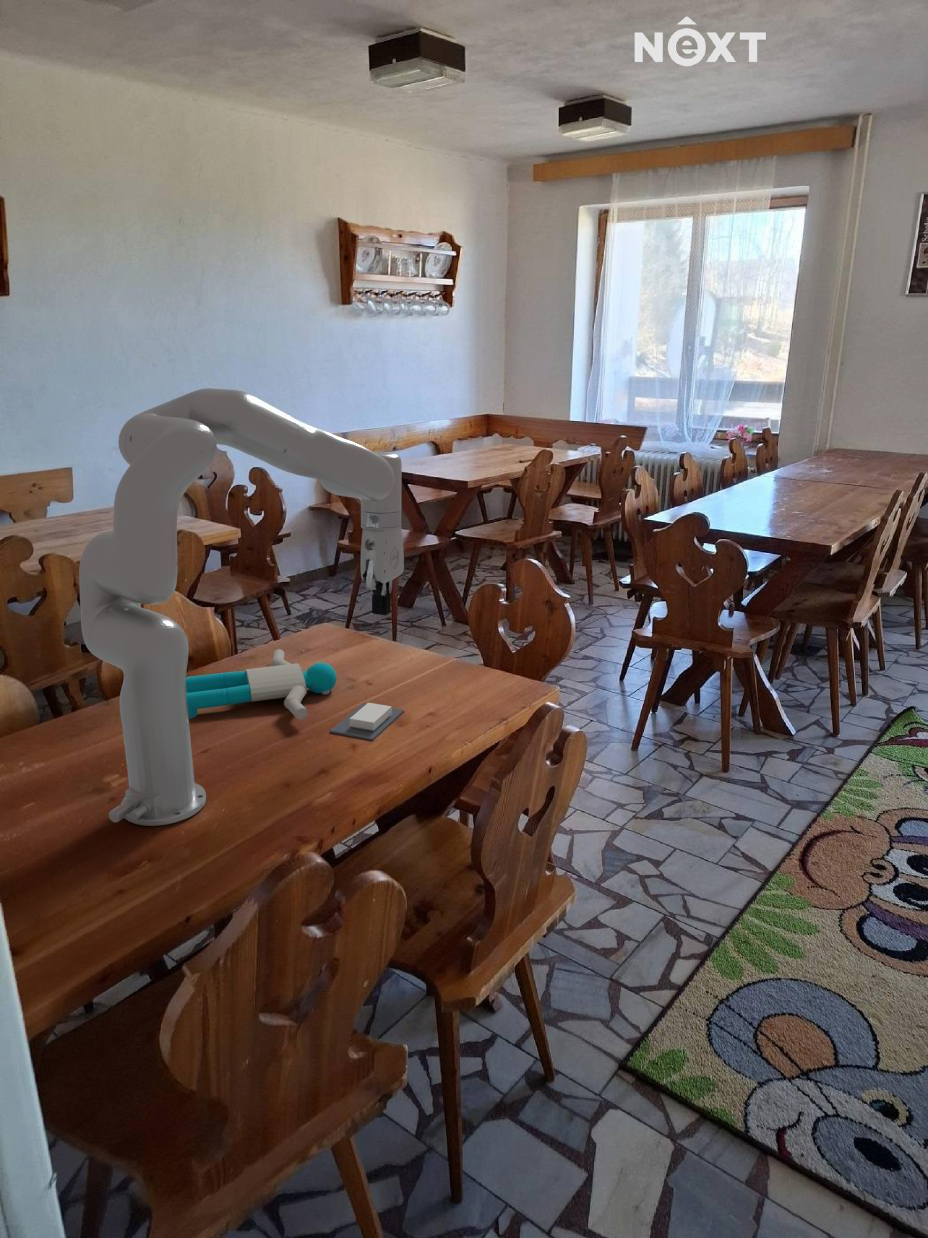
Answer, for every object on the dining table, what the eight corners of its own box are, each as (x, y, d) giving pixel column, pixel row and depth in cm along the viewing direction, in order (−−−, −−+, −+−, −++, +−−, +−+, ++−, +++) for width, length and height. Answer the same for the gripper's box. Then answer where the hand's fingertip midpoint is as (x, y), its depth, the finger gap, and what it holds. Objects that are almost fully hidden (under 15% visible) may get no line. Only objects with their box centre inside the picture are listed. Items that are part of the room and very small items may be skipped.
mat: (372, 740, 156) (372, 738, 156) (329, 732, 159) (329, 730, 159) (404, 711, 168) (404, 709, 168) (363, 704, 171) (363, 702, 171)
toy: (191, 747, 154) (353, 724, 163) (187, 714, 152) (352, 692, 161) (186, 679, 185) (323, 662, 194) (182, 651, 183) (321, 635, 192)
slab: (391, 715, 165) (373, 732, 158) (368, 711, 167) (349, 728, 160) (391, 706, 165) (373, 722, 157) (368, 702, 166) (349, 718, 159)
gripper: (381, 528, 150) (381, 626, 156) (415, 515, 164) (414, 606, 169) (344, 524, 153) (345, 621, 158) (380, 511, 166) (380, 601, 171)
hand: (381, 613), depth 163 cm, fingers closed
